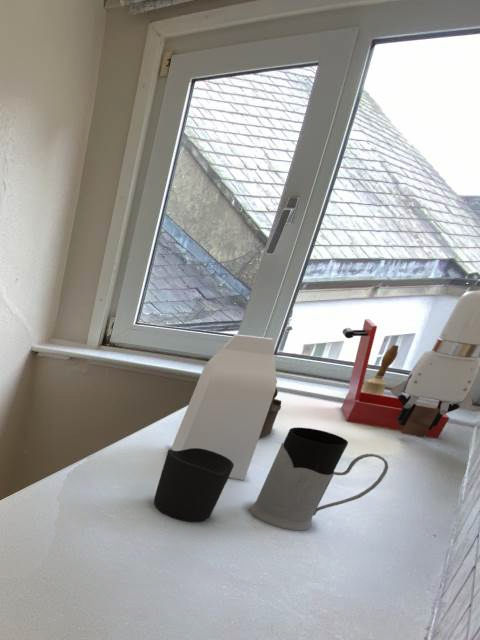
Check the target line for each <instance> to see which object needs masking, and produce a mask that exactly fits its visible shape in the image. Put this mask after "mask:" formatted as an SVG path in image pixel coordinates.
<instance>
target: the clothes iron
mask: <svg viewBox="0 0 480 640" xmlns="http://www.w3.org/2000/svg"><path fill="white" fill-rule="evenodd" d="M277 383H278V380H277V381H276V384H277ZM278 392H279V391H278V389H277V387H276V390H275V393H274V396H273V399H272V402H271V405H270V408H269V410H268V413H267V416H266V419H265V422H264V425H263V428H262V431H261V433H260V436H259V439H260V438H264V437H267V436H269V435H270V434H271V432H272V431H273V426H274V424H275V421H276V419H277V416H278V413H279V412H280V411H281V409H282V400H280V399H278V398H277V396H278V394H279V393H278ZM276 398H277V399H276Z"/></svg>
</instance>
